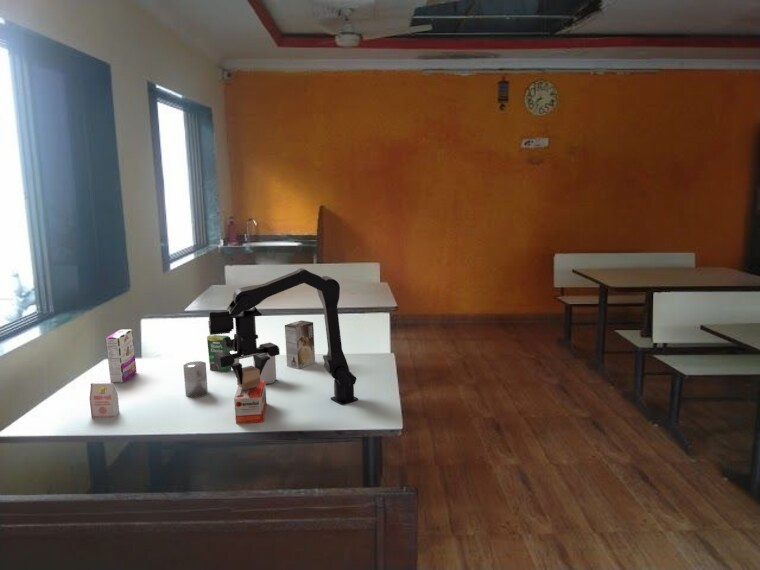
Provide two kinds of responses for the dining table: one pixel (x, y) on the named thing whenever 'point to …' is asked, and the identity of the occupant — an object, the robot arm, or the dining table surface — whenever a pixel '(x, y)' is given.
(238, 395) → the medicine box
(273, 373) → the can
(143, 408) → the dining table surface
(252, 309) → the robot arm
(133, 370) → the candy bar box
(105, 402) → the white paper food packet
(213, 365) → the coffee box
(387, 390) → the dining table surface
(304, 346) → the coffee box
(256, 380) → the light brown wooden cube
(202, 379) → the grey metal cylinder
